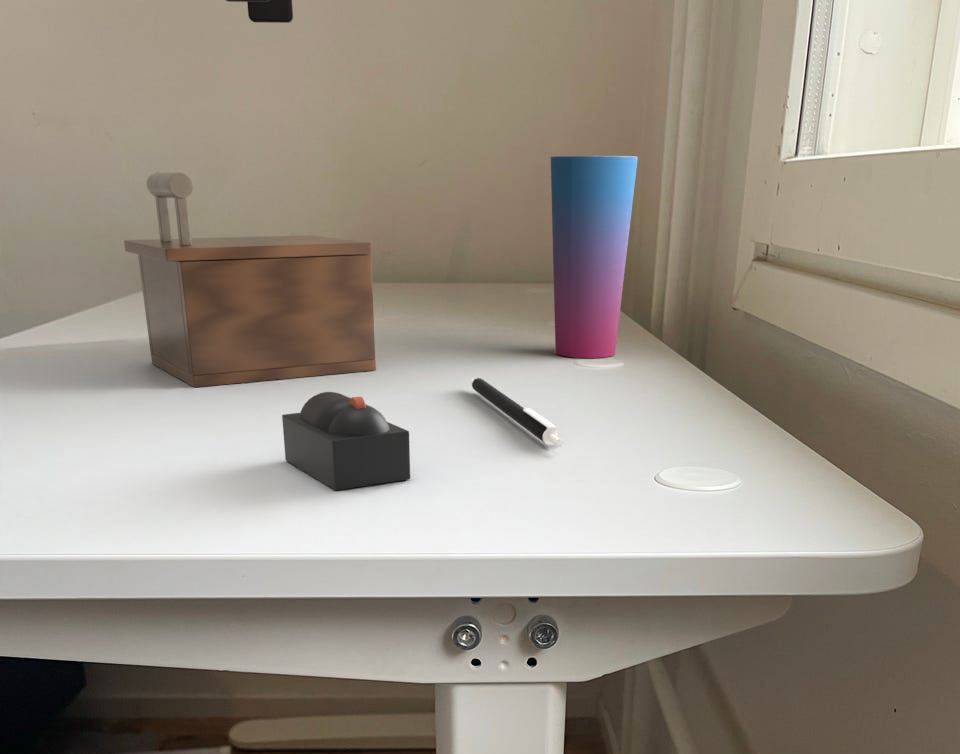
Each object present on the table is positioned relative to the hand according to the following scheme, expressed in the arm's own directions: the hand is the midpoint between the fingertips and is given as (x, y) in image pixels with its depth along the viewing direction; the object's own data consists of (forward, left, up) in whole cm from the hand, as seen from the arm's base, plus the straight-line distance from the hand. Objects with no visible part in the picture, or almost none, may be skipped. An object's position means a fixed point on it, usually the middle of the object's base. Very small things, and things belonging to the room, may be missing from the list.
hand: (259, 12), depth 71 cm
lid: (-2, -2, -16) cm, 16 cm away
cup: (+23, +10, -24) cm, 35 cm away
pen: (+21, -16, -24) cm, 35 cm away
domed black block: (+15, -30, -24) cm, 41 cm away
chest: (-1, -2, -24) cm, 24 cm away
